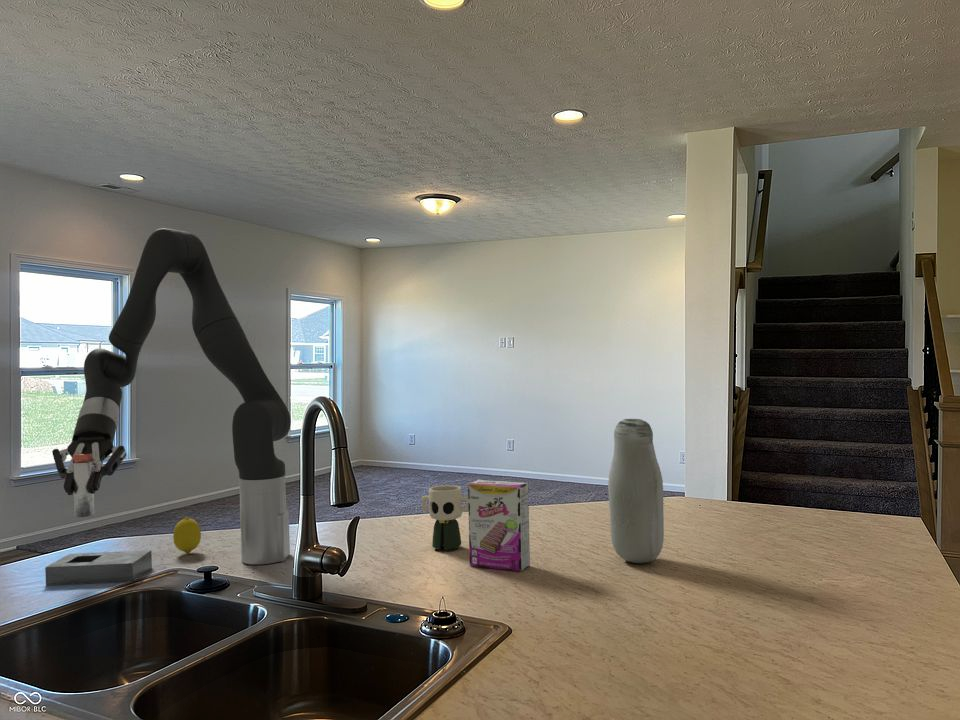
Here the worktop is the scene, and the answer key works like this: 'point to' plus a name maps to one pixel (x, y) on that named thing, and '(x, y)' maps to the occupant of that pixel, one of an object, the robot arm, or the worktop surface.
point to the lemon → (187, 535)
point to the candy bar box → (499, 525)
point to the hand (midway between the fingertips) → (80, 491)
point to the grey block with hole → (98, 567)
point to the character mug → (445, 514)
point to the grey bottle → (635, 493)
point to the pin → (83, 484)
